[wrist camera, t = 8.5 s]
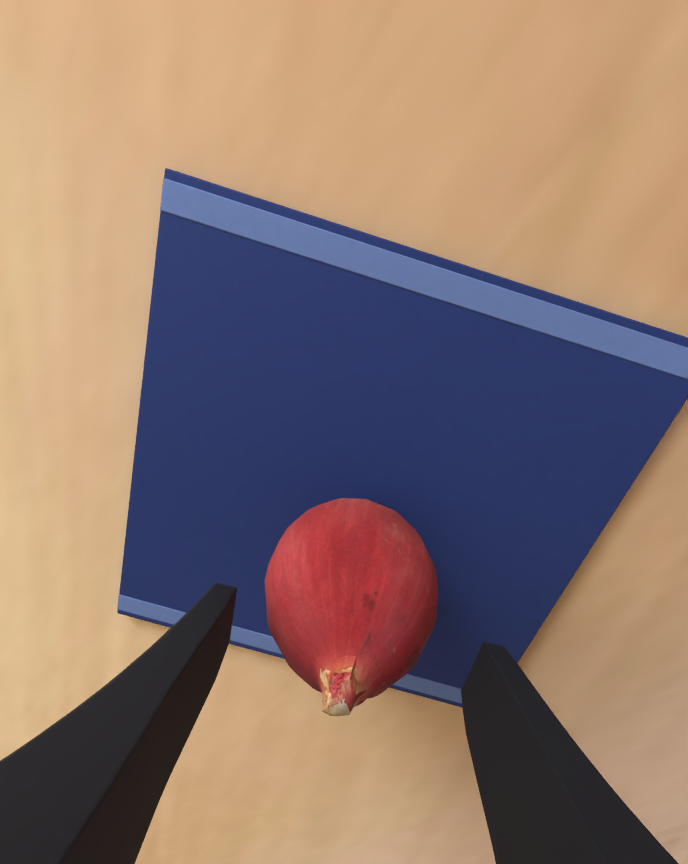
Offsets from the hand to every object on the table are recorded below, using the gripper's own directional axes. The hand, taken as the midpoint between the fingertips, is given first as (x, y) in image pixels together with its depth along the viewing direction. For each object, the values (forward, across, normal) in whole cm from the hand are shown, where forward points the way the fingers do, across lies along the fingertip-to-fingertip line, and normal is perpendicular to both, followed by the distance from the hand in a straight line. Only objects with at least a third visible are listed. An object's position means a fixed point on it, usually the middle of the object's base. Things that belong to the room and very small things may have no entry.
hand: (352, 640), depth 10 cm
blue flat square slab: (+6, 0, -1) cm, 6 cm away
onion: (+6, 0, 0) cm, 6 cm away
